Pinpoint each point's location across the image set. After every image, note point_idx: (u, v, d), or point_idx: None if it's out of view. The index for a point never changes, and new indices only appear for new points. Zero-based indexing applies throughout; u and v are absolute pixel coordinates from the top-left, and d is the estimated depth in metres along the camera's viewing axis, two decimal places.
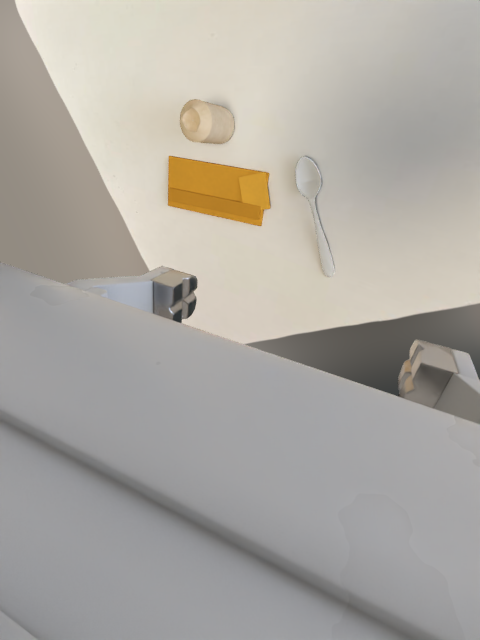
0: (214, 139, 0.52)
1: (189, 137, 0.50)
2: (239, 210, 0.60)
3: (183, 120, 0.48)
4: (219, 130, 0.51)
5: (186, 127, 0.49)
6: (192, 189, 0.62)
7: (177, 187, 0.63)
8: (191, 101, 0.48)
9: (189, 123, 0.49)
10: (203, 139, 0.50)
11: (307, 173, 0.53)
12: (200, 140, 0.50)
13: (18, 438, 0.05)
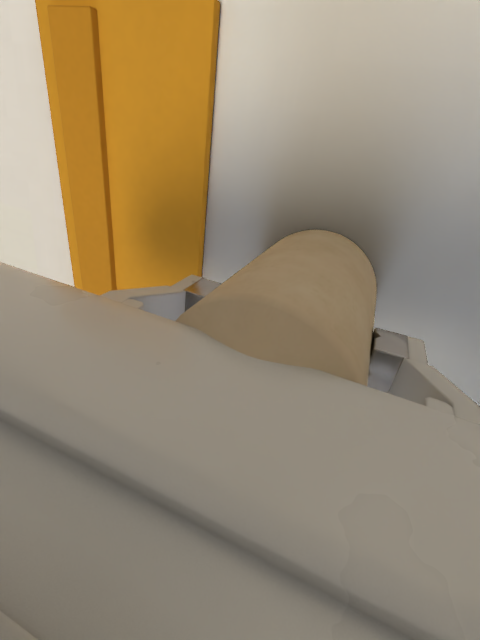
0: None
1: None
2: None
3: None
4: None
5: None
6: (113, 145, 0.16)
7: (105, 60, 0.14)
8: None
9: None
10: None
11: None
12: None
13: (18, 439, 0.05)
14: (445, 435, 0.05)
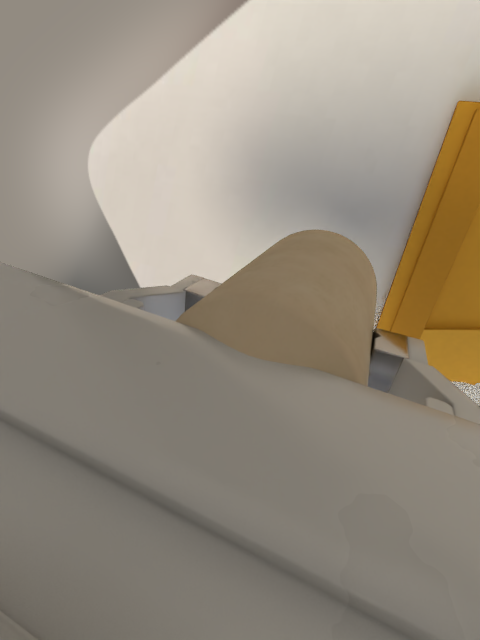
0: None
1: None
2: (407, 321, 0.28)
3: None
4: None
5: None
6: None
7: None
8: None
9: None
10: None
11: None
12: None
13: (18, 438, 0.05)
14: (445, 435, 0.05)
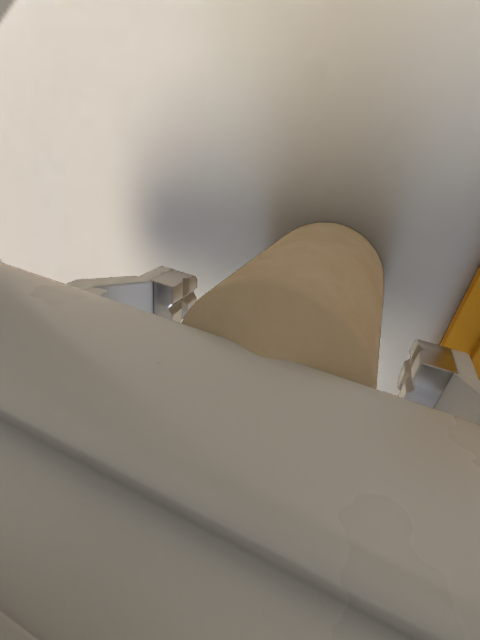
0: None
1: None
2: None
3: None
4: None
5: None
6: None
7: None
8: None
9: None
10: None
11: None
12: None
13: (18, 439, 0.05)
14: (445, 435, 0.05)
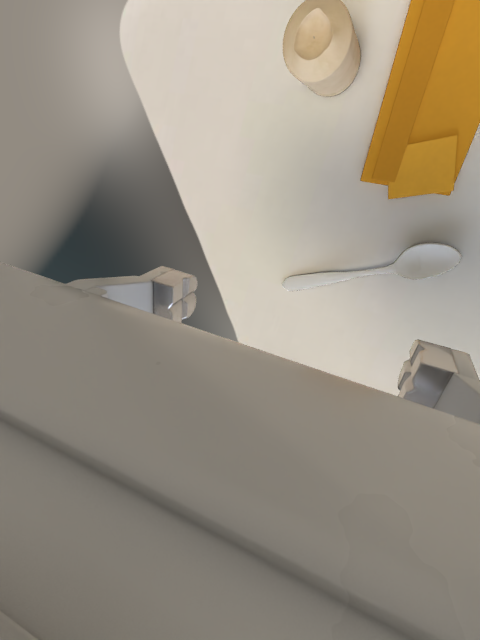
0: None
1: (289, 26, 0.26)
2: (393, 138, 0.33)
3: (315, 12, 0.25)
4: (307, 86, 0.30)
5: (304, 20, 0.25)
6: (459, 5, 0.28)
7: None
8: (348, 29, 0.25)
9: (311, 28, 0.25)
10: (285, 61, 0.28)
11: (432, 259, 0.37)
12: (284, 54, 0.27)
13: (18, 439, 0.05)
14: (445, 435, 0.05)
